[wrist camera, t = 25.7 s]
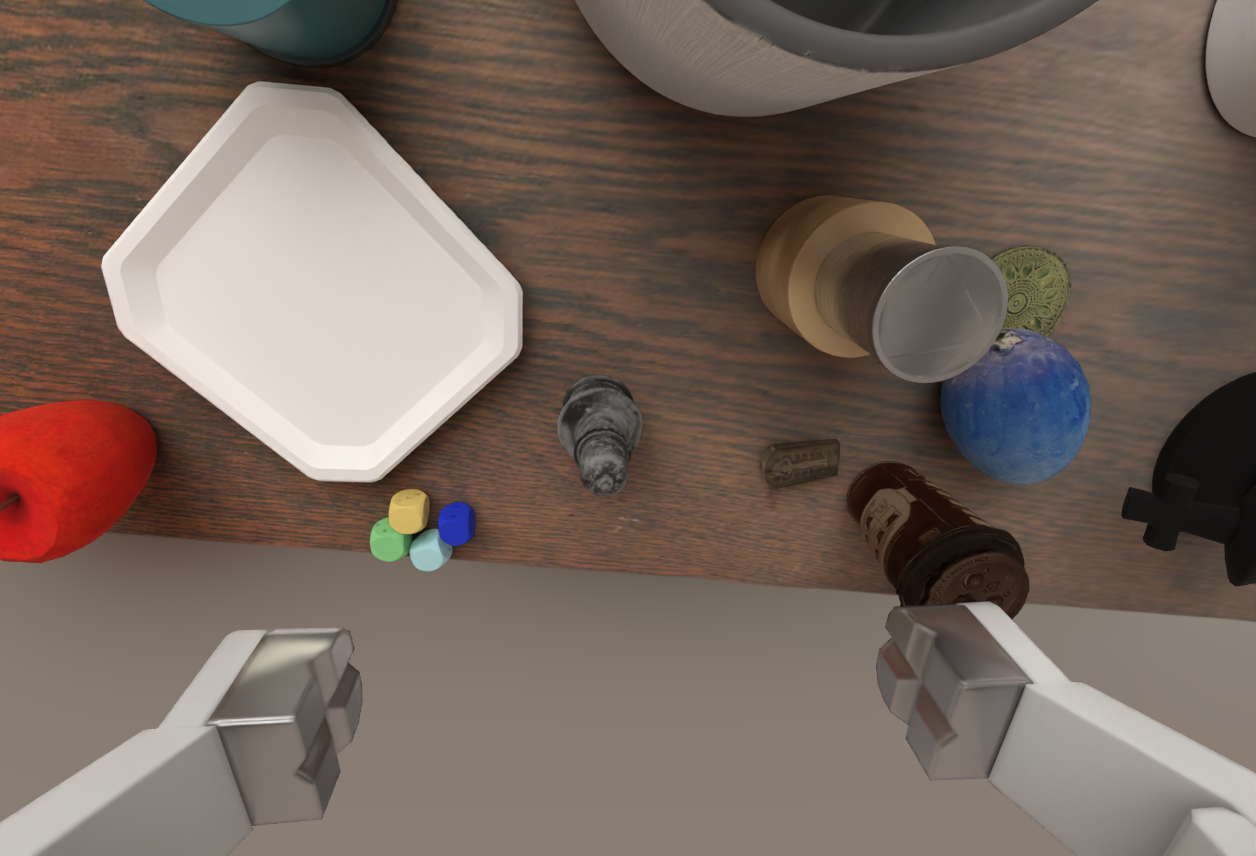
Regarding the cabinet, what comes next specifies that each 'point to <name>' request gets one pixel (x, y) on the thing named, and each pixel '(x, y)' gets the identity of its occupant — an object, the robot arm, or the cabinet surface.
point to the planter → (806, 44)
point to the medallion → (1034, 288)
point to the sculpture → (1207, 480)
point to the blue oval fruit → (1018, 408)
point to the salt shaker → (600, 432)
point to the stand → (821, 258)
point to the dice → (411, 517)
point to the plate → (314, 286)
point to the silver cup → (913, 303)
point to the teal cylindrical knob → (292, 26)
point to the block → (800, 462)
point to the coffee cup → (935, 542)
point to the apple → (68, 475)
